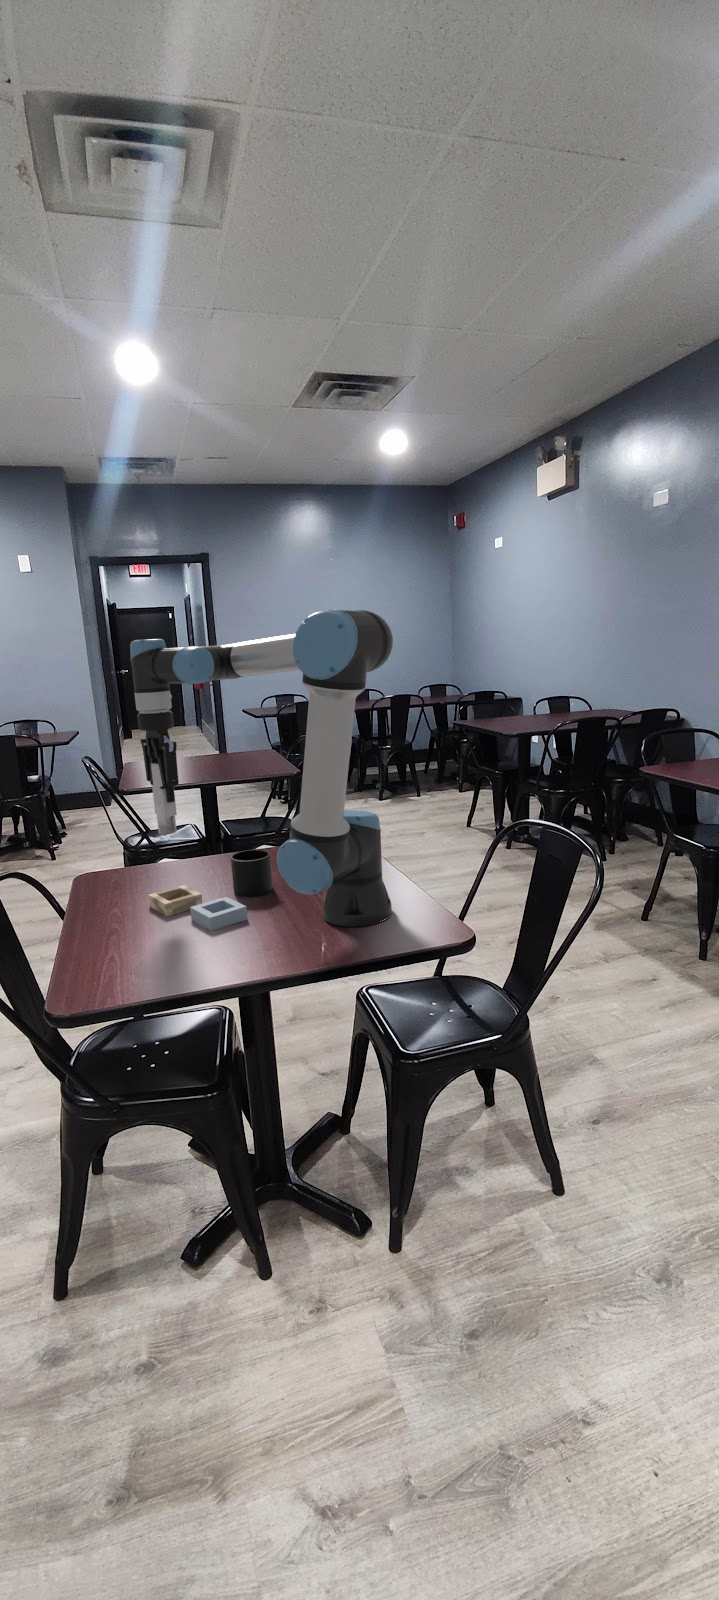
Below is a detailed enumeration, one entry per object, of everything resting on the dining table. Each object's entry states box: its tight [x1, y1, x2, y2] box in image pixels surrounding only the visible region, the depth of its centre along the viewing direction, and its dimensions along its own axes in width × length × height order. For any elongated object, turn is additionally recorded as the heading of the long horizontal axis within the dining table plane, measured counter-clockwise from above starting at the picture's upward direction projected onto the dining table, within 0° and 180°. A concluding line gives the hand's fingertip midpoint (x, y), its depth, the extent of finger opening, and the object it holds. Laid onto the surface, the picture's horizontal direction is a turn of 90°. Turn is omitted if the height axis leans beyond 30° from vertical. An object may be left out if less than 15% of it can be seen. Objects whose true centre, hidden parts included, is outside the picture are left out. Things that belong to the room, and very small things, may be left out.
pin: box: [151, 762, 177, 835], centre depth 163 cm, size 4×4×16 cm
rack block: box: [148, 884, 203, 917], centre depth 168 cm, size 9×9×3 cm
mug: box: [230, 849, 273, 898], centre depth 177 cm, size 9×12×9 cm
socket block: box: [189, 896, 249, 932], centre depth 159 cm, size 9×9×3 cm
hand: (165, 814), depth 164 cm, fingers closed on pin, 4 cm apart
